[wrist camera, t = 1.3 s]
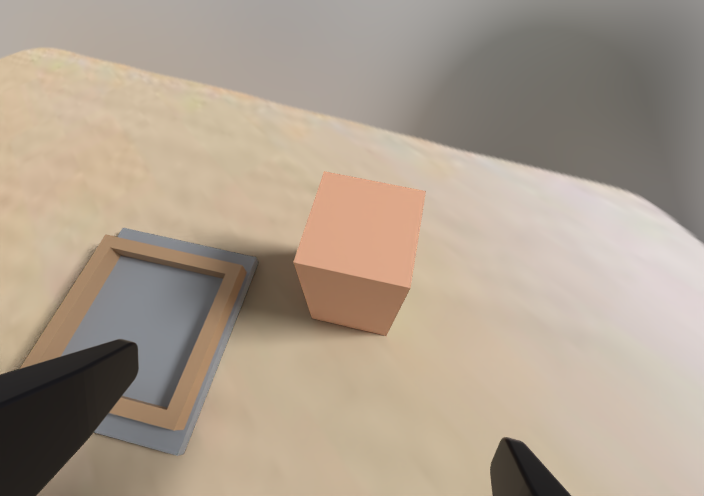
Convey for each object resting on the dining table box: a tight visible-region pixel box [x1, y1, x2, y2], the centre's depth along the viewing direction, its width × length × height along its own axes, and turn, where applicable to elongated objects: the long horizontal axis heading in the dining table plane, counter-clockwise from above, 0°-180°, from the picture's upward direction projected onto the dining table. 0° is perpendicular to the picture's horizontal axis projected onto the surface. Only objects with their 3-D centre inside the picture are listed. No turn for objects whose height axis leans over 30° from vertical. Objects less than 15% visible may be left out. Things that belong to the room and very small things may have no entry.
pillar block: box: [293, 171, 426, 336], centre depth 19 cm, size 5×5×9 cm
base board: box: [20, 228, 258, 456], centre depth 21 cm, size 12×10×2 cm
